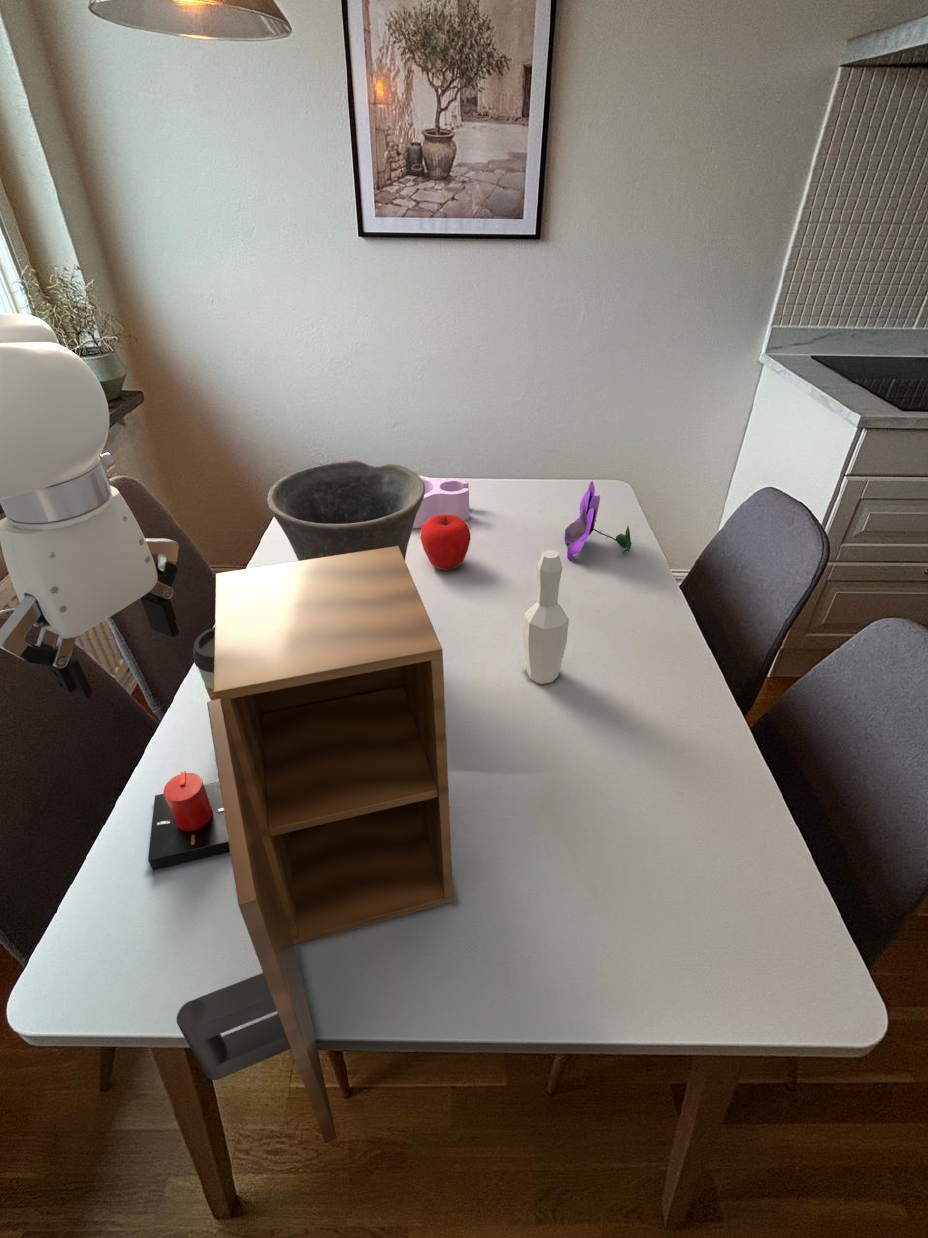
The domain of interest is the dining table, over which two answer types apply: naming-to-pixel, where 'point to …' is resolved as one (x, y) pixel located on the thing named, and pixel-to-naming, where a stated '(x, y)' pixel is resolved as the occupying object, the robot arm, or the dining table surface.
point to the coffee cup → (206, 659)
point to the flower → (589, 525)
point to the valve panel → (187, 834)
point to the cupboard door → (273, 949)
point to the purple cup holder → (443, 499)
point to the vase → (346, 508)
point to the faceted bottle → (546, 623)
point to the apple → (445, 540)
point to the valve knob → (188, 801)
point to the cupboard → (339, 735)
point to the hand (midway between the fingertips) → (124, 660)
